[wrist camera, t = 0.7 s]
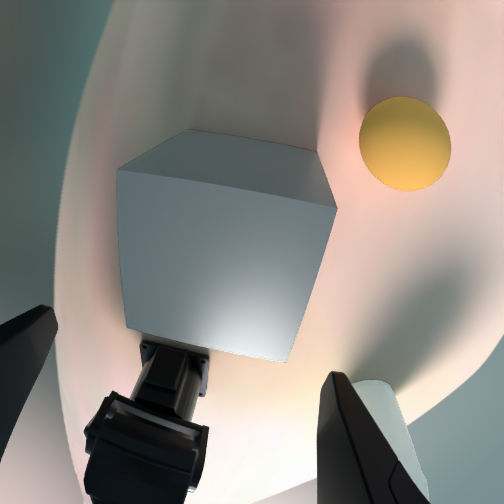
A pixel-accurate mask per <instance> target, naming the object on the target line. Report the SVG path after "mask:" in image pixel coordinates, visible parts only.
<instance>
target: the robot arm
mask: <svg viewBox="0 0 504 504" xmlns="http://www.w3.org/2000/svg"><path fill="white" fill-rule="evenodd" d="M57 331H58V323H57V320H56V316H55V313H54V310H53V308H52V307H50V306H48V305H44V304H41V305H39V306H37V307H35V308H33V309H31V310H29V311H27V312H25V313H23V314H21V315H19V316H17V317H15V318H13V319H11V320H9V321H7V322H5V323H3V324H1V325H0V462H1V458H2V456H3V454H4V451H5V448H6V446H7V443H8V441H9V438H10V436H11V433H12V431H13V429H14V426H15V424H16V422H17V419H18V417H19V415H20V413H21V411H22V408H23V406H24V404H25V402H26V400H27V398H28V396H29V394H30V391H31V389H32V387H33V385H34V383H35V381H36V379H37V377H38V375H39V373H40V371H41V369H42V367H43V365H44V362H45V360H46V357H47V355H48V353H49V350H50V348H51V345H52V342H53V340H54V338H55V336H56V333H57ZM140 353H141V360H142V367H143V369H142V371H141V373H140V376H139V378H138V380H137V383H136V385H135V387H134V389H133V392H132V394H131V396H130V399H129V398H126V397H124V396H122V395H119V394H118V393H117V392H115V391H112V392H111V394H110V395H109V397H108V396H107V397H105V398H104V400H103V402H102V404H101V406H100V408H99V410H98V412H97V413H96V415H95V416H94V417H93V418H92V419H91V421H90V422H89V423H88V424H87V426H86V427H85V429H84V434H85V437H86V448H85V452H86V453H87V454H89V455H90V458H89V461H88V464H87V468H86V471H85V475H84V476H85V477H84V486H85V491H86V493H87V494H88V495H90V497H91V501H92V504H184V501H185V498H186V495H187V492H188V491H189V492H192V493H193V492H194V491H195V490H196V488H197V486H198V484H199V481H200V478H201V475H202V472H203V468H204V462H205V455H206V447H207V440H208V432H209V427H208V426H204V425H203V426H201V425H198V424H195V423H192V422H191V420H192V416H193V413H194V409H195V405H196V402H197V398H198V397H204V396H205V394H206V387H207V377H208V368H209V357H208V356H206V355H202V354H198V353H193V352H189V351H185V350H181V349H177V348H173V347H169V346H165V345H161V344H157V343H153V342H149V341H146V340H143V341H141V343H140ZM317 504H430V502H429V501H428V500H427V498H426V497H425V496H424V495H423V494H422V492H421V491H420V490H419V488H418V487H417V486H416V484H415V483H414V482H413V480H412V479H411V477H410V476H409V474H408V473H407V471H406V470H405V468H404V466H403V465H402V463H401V462H400V460H398V457H397V455H396V454H395V452H394V451H393V449H392V447H391V446H390V444H389V443H388V441H387V439H386V438H385V436H384V435H383V433H382V431H381V430H380V428H379V427H378V425H377V424H376V422H375V420H374V419H373V417H372V416H371V414H370V412H369V411H368V409H367V408H366V406H365V405H364V403H363V401H362V400H361V398H360V397H359V395H358V394H357V392H356V390H355V389H354V387H353V386H352V384H351V383H350V381H349V379H348V378H347V376H346V375H345V374H344V373H343V372H337V371H331V372H330V373H329V375H328V376H327V378H326V380H325V382H324V384H323V386H322V388H321V393H320V405H319V416H318V427H317Z"/></svg>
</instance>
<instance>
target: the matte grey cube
mask: <svg viewBox="0 0 504 504" xmlns="http://www.w3.org/2000/svg"><path fill="white" fill-rule="evenodd" d="M336 212H337V206H336V203H335V200H334V197H333V194H332V191H331V188H330V186H329V183H328V180H327V177H326V175H325V172H324V169H323V167H322V164H321V161H320V159H319V156H318V153H317V152H316V151H311V150H307V149H302V148H297V147H292V146H288V145H283V144H277V143H272V142H267V141H261V140H256V139H250V138H244V137H238V136H232V135H225V134H219V133H212V132H204V131H197V130H189V129H188V130H186V131H184V132H182V133H180V134H178V135H176V136H174V137H173V138H171V139H169V140H167V141H165V142H163V143H162V144H160V145H158V146H156V147H154V148H153V149H151V150H149V151H147V152H145V153H144V154H142V155H140V156H139V157H137V158H135V159H133V160H132V161H130V162H128V163H127V164H125V165H123V166H122V167H120V168H119V169H117V225H118V244H119V259H120V271H121V282H122V292H123V301H124V310H125V318H126V325H127V328H129V329H133V330H137V331H140V332H144V333H148V334H151V335H155V336H159V337H163V338H167V339H171V340H175V341H179V342H183V343H188V344H192V345H196V346H201V347H205V348H210V349H214V350H219V351H224V352H229V353H234V354H239V355H244V356H249V357H255V358H260V359H266V360H272V361H278V362H284V363H287V360H288V357H289V355H290V352H291V349H292V346H293V344H294V341H295V338H296V335H297V333H298V330H299V327H300V324H301V321H302V318H303V316H304V313H305V310H306V307H307V304H308V301H309V298H310V295H311V292H312V289H313V286H314V283H315V280H316V277H317V274H318V271H319V268H320V265H321V261H322V258H323V255H324V252H325V249H326V245H327V242H328V239H329V236H330V232H331V229H332V226H333V222H334V219H335V215H336Z"/></svg>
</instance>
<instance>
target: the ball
mask: <svg viewBox="0 0 504 504" xmlns="http://www.w3.org/2000/svg"><path fill="white" fill-rule="evenodd" d="M359 146H360V151H361V155H362V158H363V160H364V162H365V164H366V166H367V168H368V169H369V171H370V172H371V173H372V174H373V175H374V176H375V177H376V178H377V179H378V180H379V181H380V182H382V183H383V184H385V185H387V186H389V187H391V188H394V189H397V190H401V191H416V190H421V189H424V188H426V187H428V186H430V185H432V184H433V183H435V182H436V181H437V180H438V179H439V178H440V177H441V176H442V174H443V173H444V171H445V170H446V168H447V166H448V163H449V160H450V155H451V141H450V136H449V132H448V129H447V127H446V125H445V123H444V121H443V120H442V118H441V117H440V115H439V114H438V113H437V112H436V111H435V110H434V109H433V108H431V107H430V106H429V105H427V104H426V103H424V102H422V101H420V100H417V99H414V98H411V97H392V98H388V99H385V100H383V101H381V102H380V103H378V104H377V105H375V106H374V107H373V108H372V109H371V110H370V111H369V112H368V113H367V115H366V116H365V118H364V120H363V122H362V125H361V128H360V134H359Z"/></svg>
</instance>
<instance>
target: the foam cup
mask: <svg viewBox="0 0 504 504" xmlns="http://www.w3.org/2000/svg"><path fill="white" fill-rule="evenodd" d="M351 384H352V386H353V387H354V389H355V390H356V392H357V394H358V395H359V397H360V398H361V400H362V401H363V403H364V405H365V406H366V408H367V409H368V411H369V412H370V414H371V416H372V417H373V419H374V420H375V422H376V424H377V425H378V427H379V428H380V430H381V431H382V433H383V435H384V436H385V438H386V439H387V441H388V443H389V444H390V446H391V447H392V449H393V451H394V452H395V454H396V455H397V457H398V460H400V462H401V463H402V465H403V466H404V468H405V470H406V471H407V473H408V474H409V476H410V477H411V479H412V480H413V482H414V483H415V484H416V486H417V487H418V488H419V490H420V491H421V492H422V494H423V495H424V496H425V497H426V498H427V500H428V501H429V493H428V487H427V480H426V477H425V476H424V475H423V474H422V470H421V467H420V464H419V462H418V458H417V455H416V452H415V449H414V446H413V443H412V440H411V438H410V435H409V432H408V429H407V426H406V423H405V421H404V418H403V415H402V413H401V410H400V407H399V404H398V402H397V399H396V397H395V394H394V393H393V389H392V388H391V386H390V385H389V384H388V383H385V382H383V381H380V380H363V381H359V382H355V383H351Z"/></svg>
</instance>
